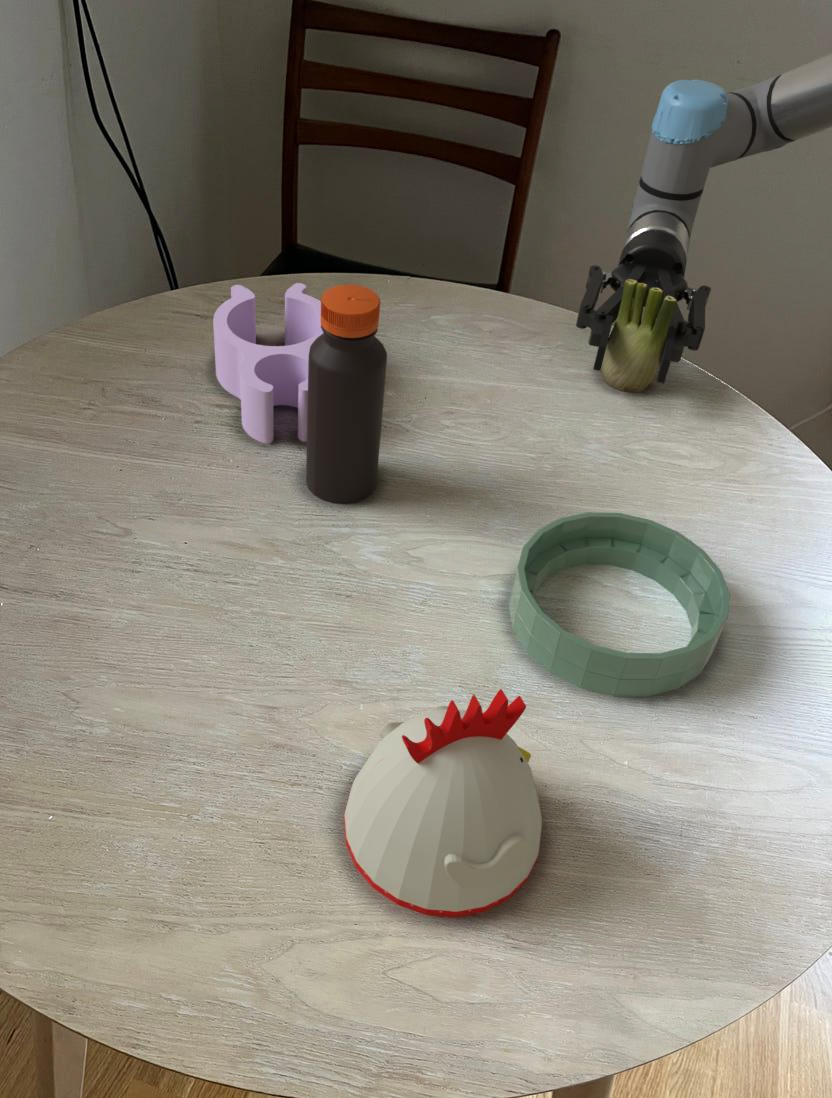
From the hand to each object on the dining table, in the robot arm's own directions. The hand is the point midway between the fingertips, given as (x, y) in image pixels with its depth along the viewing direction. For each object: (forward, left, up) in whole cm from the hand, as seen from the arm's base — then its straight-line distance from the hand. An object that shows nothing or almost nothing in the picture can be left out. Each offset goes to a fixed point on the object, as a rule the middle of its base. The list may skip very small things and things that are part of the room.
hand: (631, 364), depth 109 cm
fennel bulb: (0, -5, -6) cm, 8 cm away
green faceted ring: (-3, +32, -6) cm, 33 cm away
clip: (+35, +9, -6) cm, 37 cm away
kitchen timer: (+6, +57, -6) cm, 58 cm away
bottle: (+24, +22, -6) cm, 33 cm away
